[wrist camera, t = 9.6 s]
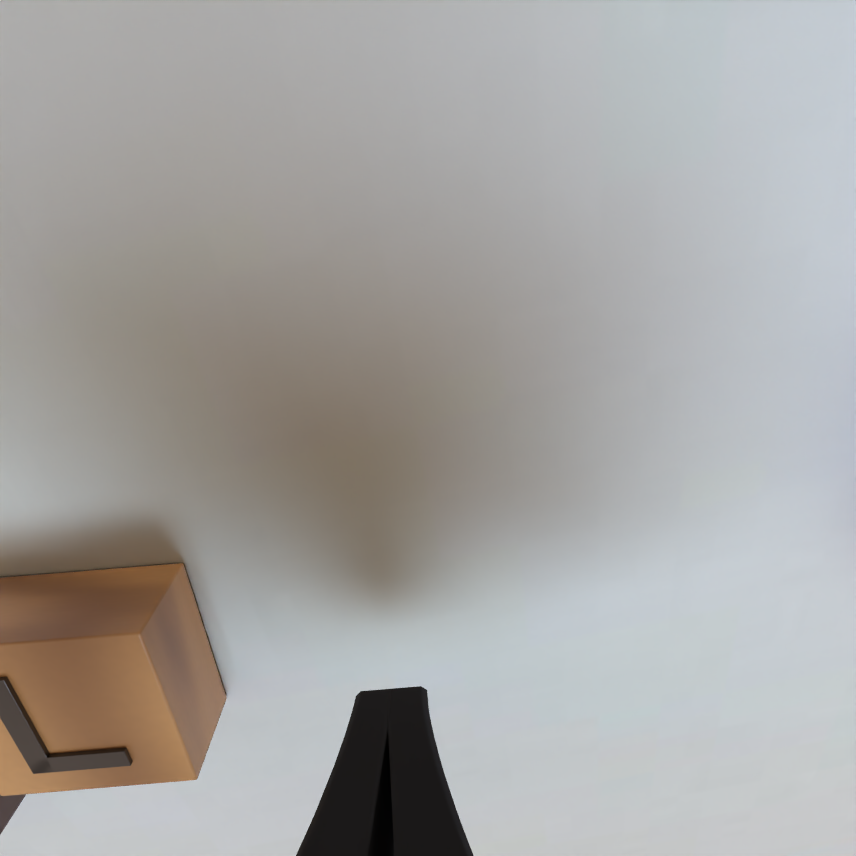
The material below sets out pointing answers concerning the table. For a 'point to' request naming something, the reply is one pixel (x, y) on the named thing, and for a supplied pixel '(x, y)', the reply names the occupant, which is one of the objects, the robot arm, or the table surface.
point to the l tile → (103, 680)
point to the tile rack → (8, 808)
